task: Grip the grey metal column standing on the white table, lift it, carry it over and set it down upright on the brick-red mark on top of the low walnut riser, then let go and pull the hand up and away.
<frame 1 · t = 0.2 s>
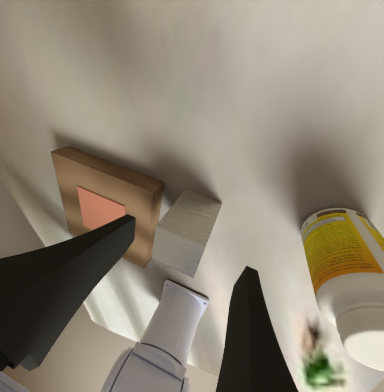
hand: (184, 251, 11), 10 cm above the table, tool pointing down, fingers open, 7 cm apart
walnut riser: (115, 206, 27), on the table
supplement bottle: (332, 228, 18), on the table
steel column: (199, 210, 22), on the table
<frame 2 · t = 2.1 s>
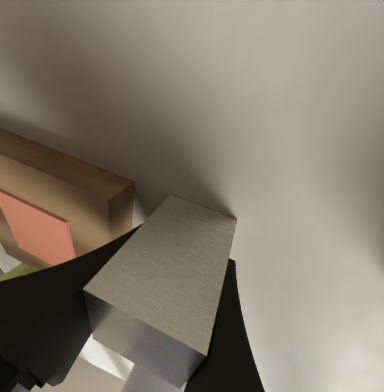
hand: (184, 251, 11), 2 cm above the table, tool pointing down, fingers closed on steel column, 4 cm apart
walnut riser: (67, 218, 18), on the table
tube: (47, 265, 25), on the table
steel column: (194, 231, 13), on the table, touching gripper
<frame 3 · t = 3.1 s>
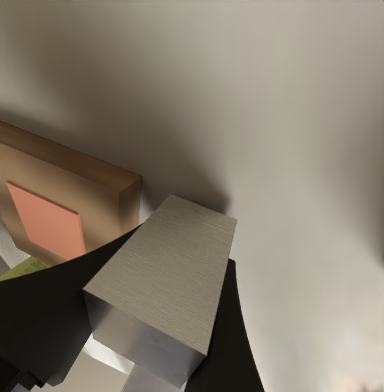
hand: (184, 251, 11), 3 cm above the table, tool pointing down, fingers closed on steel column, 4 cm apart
walnut riser: (75, 213, 18), on the table
tube: (54, 259, 26), on the table
steel column: (194, 231, 13), point 1 cm above the table, touching gripper
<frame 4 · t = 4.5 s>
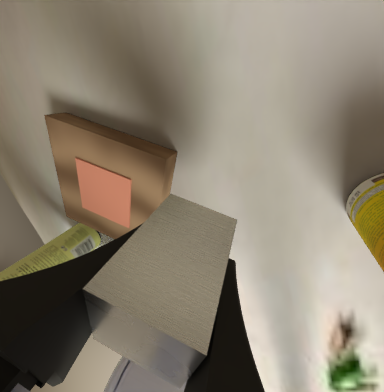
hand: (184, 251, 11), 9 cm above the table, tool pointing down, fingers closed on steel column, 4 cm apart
walnut riser: (118, 185, 24), on the table
tube: (90, 231, 31), on the table
steel column: (194, 231, 13), point 7 cm above the table, touching gripper
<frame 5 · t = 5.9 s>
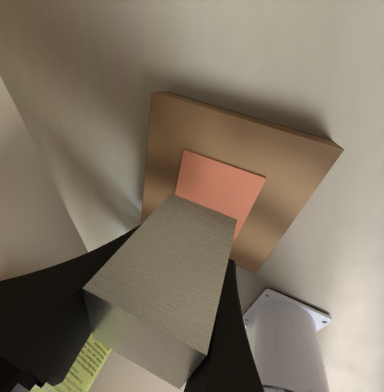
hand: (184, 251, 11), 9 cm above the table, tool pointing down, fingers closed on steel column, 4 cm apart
walnut riser: (218, 185, 19), on the table
tube: (155, 239, 27), on the table
steel column: (195, 230, 13), point 7 cm above the table, touching gripper
when the fingers open (6 cm above the table, at t = 7.2 s): steel column stays where it is, resting on walnut riser.
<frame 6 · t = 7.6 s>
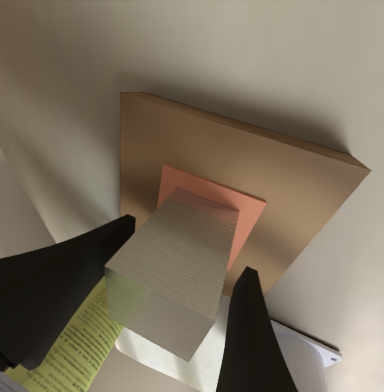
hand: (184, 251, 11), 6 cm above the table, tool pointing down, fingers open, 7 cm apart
walnut riser: (208, 204, 16), on the table
tube: (140, 259, 24), on the table
steel column: (199, 222, 14), point 3 cm above the table, touching walnut riser
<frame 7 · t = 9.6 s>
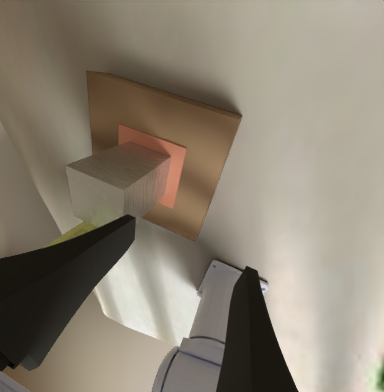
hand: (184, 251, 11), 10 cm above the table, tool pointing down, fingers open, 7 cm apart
walnut riser: (160, 161, 21), on the table
tube: (116, 216, 29), on the table
steel column: (147, 169, 19), point 3 cm above the table, touching walnut riser
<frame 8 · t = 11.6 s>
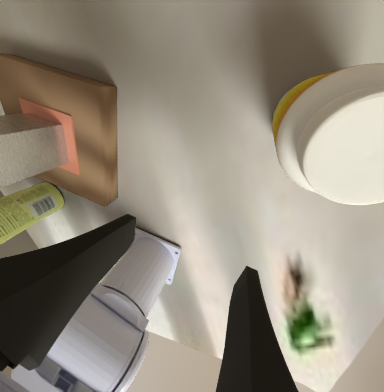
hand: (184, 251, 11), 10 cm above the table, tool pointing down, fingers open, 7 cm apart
walnut riser: (70, 134, 24), on the table
supplement bottle: (309, 117, 15), on the table
tube: (53, 193, 31), on the table
steel column: (50, 138, 21), point 3 cm above the table, touching walnut riser
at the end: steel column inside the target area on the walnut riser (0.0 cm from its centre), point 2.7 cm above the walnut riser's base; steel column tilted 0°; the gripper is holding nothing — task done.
